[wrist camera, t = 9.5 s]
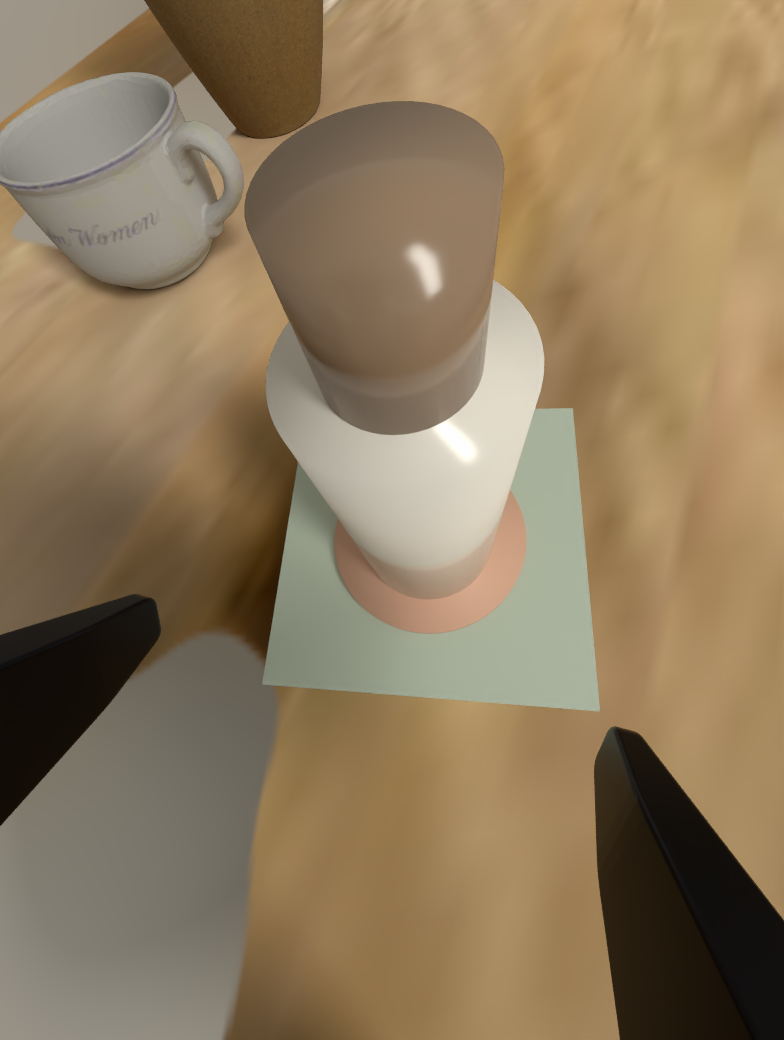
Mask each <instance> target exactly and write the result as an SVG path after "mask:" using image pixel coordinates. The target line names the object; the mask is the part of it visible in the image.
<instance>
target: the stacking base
mask: <svg viewBox="0 0 784 1040" xmlns="http://www.w3.org/2000/svg"><path fill="white" fill-rule="evenodd" d="M262 684H264V685H276V686H289V687H301V688H314V689H326V690H339V691H351V692H364V693H376V694H389V695H402V696H414V697H427V698H439V699H452V700H464V701H477V702H489V703H502V704H514V705H527V706H540V707H552V708H565V709H577V710H590V711H600V708H599V696H598V685H597V674H596V663H595V652H594V641H593V630H592V618H591V607H590V596H589V585H588V574H587V563H586V552H585V540H584V529H583V518H582V507H581V496H580V485H579V474H578V462H577V451H576V440H575V429H574V418H573V408H560V409H535V410H534V413H533V417H532V420H531V423H530V426H529V430H528V433H527V436H526V439H525V443H524V446H523V449H522V452H521V456H520V459H519V462H518V465H517V469H516V472H515V475H514V478H513V481H512V485H511V488H510V491H509V494H508V498H507V501H506V504H505V507H504V511H503V514H502V517H501V520H500V524H499V527H498V530H497V533H496V537H495V540H494V543H493V546H492V550H491V553H490V556H489V559H488V562H487V564H486V566H485V567H484V569H483V571H482V572H481V574H480V575H479V576H478V577H477V578H476V579H475V581H474V582H473V583H471V584H470V585H469V586H468V587H466V588H465V589H463V590H462V591H460V592H458V593H456V594H453V595H451V596H448V597H444V598H440V599H427V600H425V599H416V598H412V597H408V596H406V595H403V594H401V593H399V592H397V591H395V590H393V589H392V588H391V587H389V586H388V585H387V584H385V583H384V582H383V581H382V580H381V579H380V577H379V576H378V575H377V573H376V572H375V571H374V569H373V568H372V566H371V565H370V564H369V562H368V561H367V559H366V558H365V556H364V555H363V554H362V552H361V551H360V549H359V548H358V546H357V545H356V544H355V542H354V541H353V539H352V538H351V536H350V535H349V534H348V532H347V531H346V529H345V528H344V527H343V525H342V524H341V522H340V521H339V519H338V518H337V517H336V515H335V514H334V512H333V511H332V509H331V508H330V507H329V505H328V504H327V502H326V501H325V499H324V498H323V497H322V495H321V494H320V492H319V491H318V489H317V488H316V487H315V485H314V484H313V482H312V481H311V479H310V478H309V477H308V475H307V474H306V472H305V471H304V469H303V468H302V467H301V465H300V464H299V462H298V466H297V472H296V478H295V484H294V490H293V496H292V503H291V509H290V515H289V521H288V527H287V534H286V540H285V546H284V552H283V558H282V565H281V571H280V577H279V583H278V589H277V596H276V602H275V608H274V614H273V620H272V627H271V633H270V639H269V645H268V651H267V658H266V664H265V670H264V676H263V682H262Z"/></svg>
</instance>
